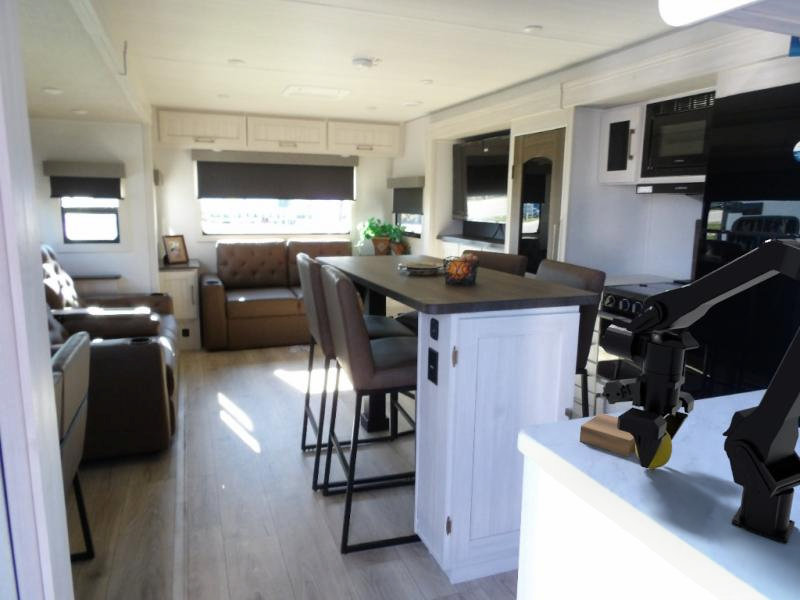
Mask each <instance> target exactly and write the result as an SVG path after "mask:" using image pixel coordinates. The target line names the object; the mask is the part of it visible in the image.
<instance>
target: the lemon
mask: <svg viewBox="0 0 800 600" xmlns="http://www.w3.org/2000/svg"><path fill="white" fill-rule="evenodd" d="M665 433H667V436H666V437H665V439H664V441H663V443H662V444H661V446H660V448H659V450H658V452H657V453H656V455H655V457H654V459H653V460H652V462H651V464H650V466H649V467H648V468H647V469H649V470H651V471H653V470H654V469H657V468H661V467H663V466H665V465H666V464H667V463H669V461H670V459H671V457H672V453H673V443H672V442H673V440H672V441H671V438H670V435H669V434H668V432H667V431H666V430H665ZM635 450H636V451H635V454H636V456H637V458H638V460H639V456H638V452H637V447H636V444H635Z"/></svg>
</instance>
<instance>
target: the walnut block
mask: <svg viewBox="0 0 800 600" xmlns="http://www.w3.org/2000/svg"><path fill="white" fill-rule="evenodd" d="M617 422H618V416H617V417H616V416H613V415H609V414H606V413H603V412H600V413H599V414H597V415H596V416H594V417H593V418H591V419H590V420H588V421H586V422H585V423H583V424H582V425H580V431H579V432H580V434H579V442H582V443H585V444H587V445H591V446H594V447H597V448H600V449H602V450H606V451H610V452H612V453H616V454H620V455H622V456H625V457H630V456H631V455H632V454H634V453H636V450H635V444H636V443H635V440H634V437H633V436H632V435H631V434H630V433H628V432H625V431H621V430H619V429H618V428H617Z"/></svg>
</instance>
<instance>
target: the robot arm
mask: <svg viewBox="0 0 800 600" xmlns="http://www.w3.org/2000/svg"><path fill="white" fill-rule="evenodd" d="M779 273H781V274H783V275H785V276H787V277H789V278H792V279H793V280H796V281H799V282H800V241H798V240H796V239H792V238H777V239H776V238H773V239H772V238H771V239H768V240H765V241H764V242H763V243H761V244H759V246H758V247H756V248H754V249H752V250H750V251H749V252H747V253H745V254H744V255H741V256H739V257H737V258H736V259H734V260H732V261H731V262H728V263H726V264H724V265H722V266H721V267H719V268H717V269H716V270H715V269H714V271H711V272H709V273H708V274H706V275H703V276H702V277H701V278H699V279H697V280H694V281H693V282H691V283H688V284H686V285H681V286H678V287H674V288H670V289H667V290H666V289H665V290H662V291H659V292H657V293H653V294H651V295H649V296H647V297H646V298H645V299H644V301H643V302H642V303H643V306H642V308H641V310H640V311H638V313H637V314H636V315H635V317H633V319H629V318H627V317H624V316H619V317H617V316H615V317H613V318H612V321H611V322H612V323H611V324H610V325H609V326H608V327H607V328H606V330H605V331H604V334H603V336H602V338H601V346H602V349H603V350H604V352H605V353H606V354H608V355H612V356H615V357H618V358H622V359H624V360H627V361H630V362H634V363H639V362H642V361H643V365H642V372H641V373H639V374H638V375H636V377H634V378H626V379H624V378H623V379H616V380H608V381H607V382H605V385H604V386H603V387H602V391H603V392H602V393H601V395H602V397H603V398H605V400H606V401H607V403H608V404H609V405H615V404H616V403H626V402H627V403H628V402H629V403H630V402H632V404H631V405H632V406H635V407H631V408H629V409H627V410H626V411H624V412H623V413H621V414H620V415H618V416H617V418H618V422H617V428H618V429H619V430H621V431H625V432H628V433H630V434H631V435H632V436H633V437H634V440H635V443H636V447H637V452H638V456H639V459H638V460H639V464H640V467H641V468H644V469H649V468H648V467H649V466H650V464H651V462H652V460H653V459H654V457H655V455H656V453H657V452H658V450H659V448H660V446H661V444H662V443H663V441H664V439H665V437H666V436H667V433H665V430H666V431H667V432H668V434H669V435H670V438H671V441H672V442H673V439H674V438H675V437H676V435H677V434H678V432H679V430H680V428H681V427H682V425H684V422H685V421H686V420H687V419H688V417H689V414H690V413H691V412H692V411H693V410H694V405H695V398H694V397H693V396H692V394H691V393H689V392H685V391H681V386H682V385H684V384H685V382H686V381H685V379H686V377H685V376H683V375H682V373H683V367H684V357H685V351H686V350H687V351H688V350H693V349H697V348H699V347H700V343H698V341H697V340H696V339H695V338H694V337H693V336H692V335H691V333H690V332H689V331H683V332H679V333H677V334H676V333H673V332H668V331H665V330H674V329H675V330H676V329H683V328H688V327H689V326H691V325H693V324H694V323H695V322H696V321H699V320H700V319H701V318H702V317H703V316H705V314H706V313H707V312H708V311H709V309H711V308H712V307H713V306H714V305H716V304H718V303H720V302H722V301H724V300H726V299H728V298H730V297H732V296H734V295H736V294H738V293H741V292H743V291H745V290H747V289H749V288H751V287H753V286H755V285H758V284H759V283H761V282H764V281H766V280H767V279H769V278H773V276H776V275H778V274H779ZM655 331H657V332H659V333H658V334H655V333H654V332H655ZM660 331H662V332H660ZM636 407H637V408H636ZM640 407H641V408H642V409H641V408H640ZM639 408H640V409H639ZM682 408H683V411H684V412H680V409H682ZM799 417H800V326H799V327H798V329H797V330H796V332H795V335H794V336H793V339H792V340H791V342H790V344H789V345H788V348H787V350H786V352H785V354H784V355H783V358H782V359H781V362H780V363H779V365H778V367H777V368H776V371H775V373H774V375H773V377H772V379H771V380H770V383H769V385H768V387H767V388H766V391H765V392H764V394H763V395H762V398H761V400H760V402H759V404H758V405H755V406H751V407H749V408H744V409H740V410H737V411H735V412H734V413H733V415H732V417H731V421H730V423H729V426H728V427H727V430H725V431H724V432H723V433H722V436H723V437H726V438H725V440H724V443H723V451H725V453H726V457H727V458H728V460H729V464H730V469H731V474H732V478H733V482H734V484H736V485H739V486H740V487H742V494H741V500H740V506H739V507H738V508H737V511H736V513H735V514H734V516H733V517H732V519H731V525H732V526H735V527H738V528H740V529H742V530H746V531H749V532H752V533H754V534H758V535H760V536H764V537H766V538H769V539H772V540H774V541H777V542H778V543H779V542H780V543H783V544H788V542H789V540H790V537H791V535H792V533H793V531H794V527H795V524H796V523H795V521H794V520H792V519H791V513H792V507H793V500H794V494H795V487H798V486H800V455H798V453H797V451H796V450H795V449H796V447H797V443H798V440H799V436H800V435H799V434H800V433H799Z"/></svg>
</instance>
